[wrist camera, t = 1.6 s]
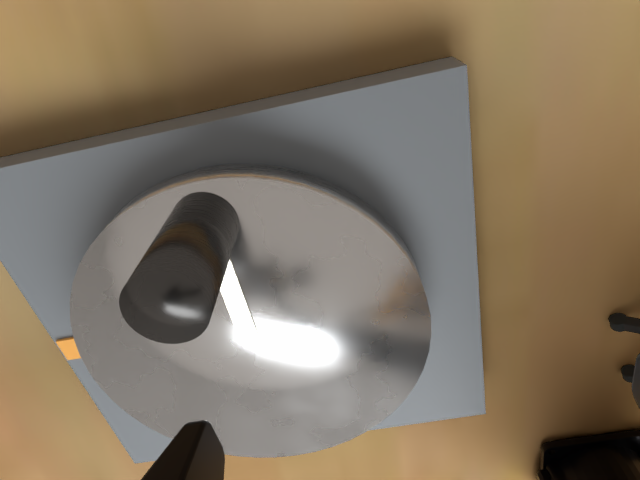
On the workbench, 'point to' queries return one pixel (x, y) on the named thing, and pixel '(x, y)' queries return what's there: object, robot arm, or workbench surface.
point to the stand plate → (293, 153)
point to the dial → (252, 310)
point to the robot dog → (625, 324)
